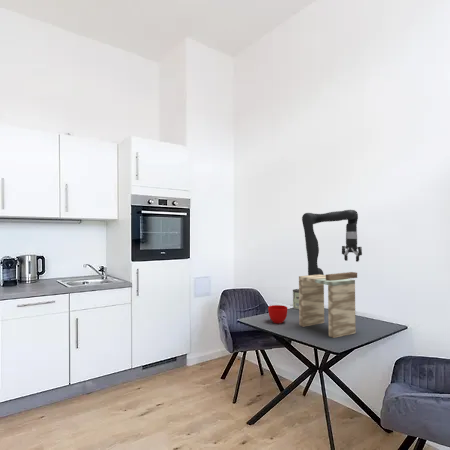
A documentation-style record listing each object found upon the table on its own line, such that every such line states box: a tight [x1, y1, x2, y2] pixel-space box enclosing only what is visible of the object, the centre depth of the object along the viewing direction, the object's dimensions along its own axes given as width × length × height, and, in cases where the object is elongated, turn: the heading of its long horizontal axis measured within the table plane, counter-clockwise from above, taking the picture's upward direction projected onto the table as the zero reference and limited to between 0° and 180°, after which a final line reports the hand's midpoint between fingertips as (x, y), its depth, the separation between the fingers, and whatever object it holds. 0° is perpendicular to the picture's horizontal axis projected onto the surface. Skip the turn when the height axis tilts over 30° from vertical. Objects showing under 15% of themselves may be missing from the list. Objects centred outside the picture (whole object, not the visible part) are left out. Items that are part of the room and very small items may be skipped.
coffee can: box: [292, 288, 299, 310], centre depth 274 cm, size 10×10×14 cm
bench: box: [298, 274, 357, 339], centre depth 216 cm, size 30×18×32 cm, turn 28°
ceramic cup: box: [267, 304, 288, 324], centre depth 235 cm, size 13×17×10 cm
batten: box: [325, 271, 358, 281], centre depth 213 cm, size 4×23×3 cm, turn 118°
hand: (351, 261), depth 242 cm, fingers open, 8 cm apart
